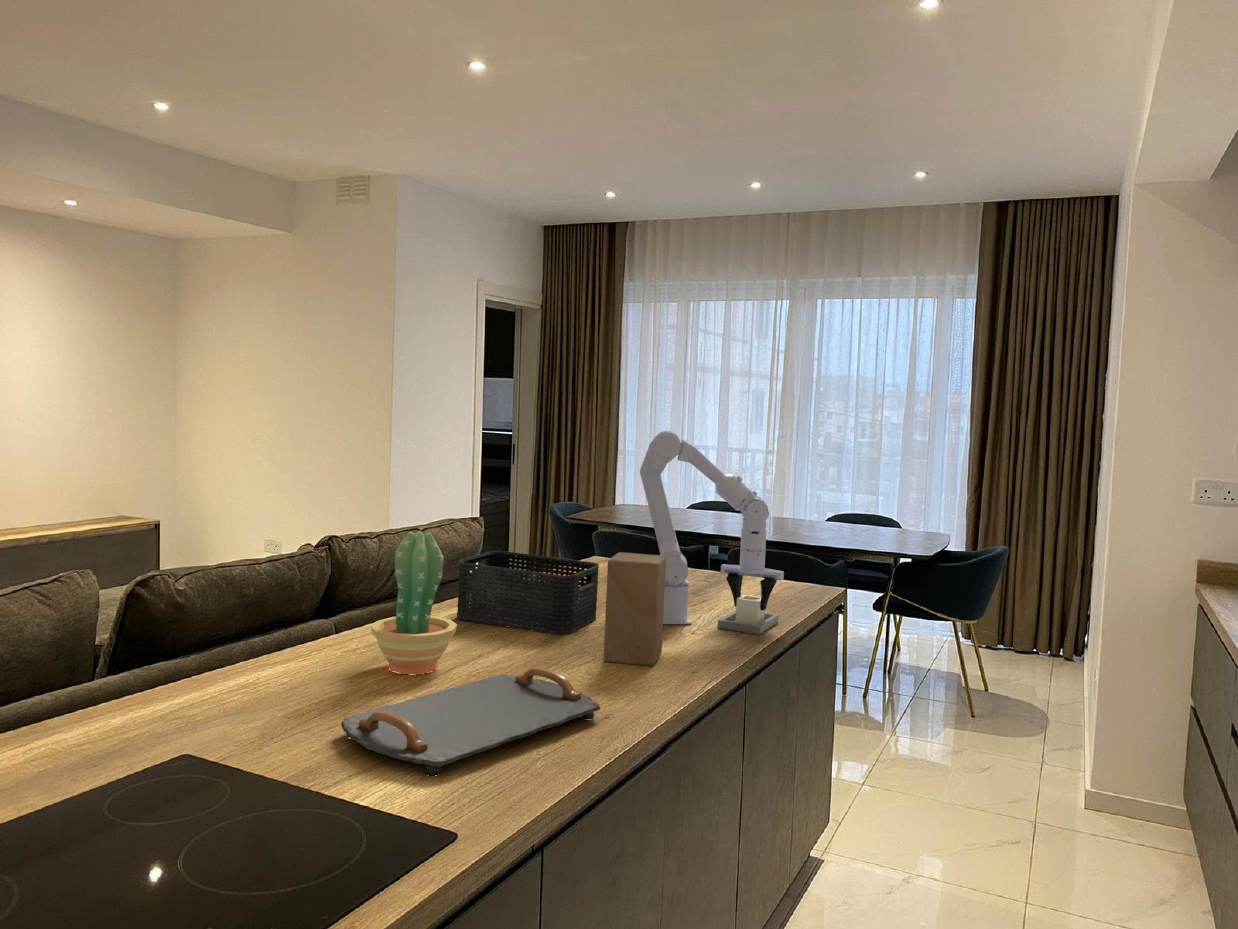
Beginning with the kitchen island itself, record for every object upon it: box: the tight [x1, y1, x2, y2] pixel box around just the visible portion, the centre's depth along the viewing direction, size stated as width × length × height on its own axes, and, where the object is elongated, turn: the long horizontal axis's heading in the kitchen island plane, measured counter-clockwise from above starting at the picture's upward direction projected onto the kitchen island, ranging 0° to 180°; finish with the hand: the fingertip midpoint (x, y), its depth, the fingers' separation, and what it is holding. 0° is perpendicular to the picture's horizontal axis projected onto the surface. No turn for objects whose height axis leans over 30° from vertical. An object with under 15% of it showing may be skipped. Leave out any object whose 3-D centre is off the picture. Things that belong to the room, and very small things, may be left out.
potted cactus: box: [370, 530, 458, 674], centre depth 165 cm, size 15×15×25 cm
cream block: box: [735, 594, 766, 625], centre depth 210 cm, size 5×5×6 cm
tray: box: [717, 609, 779, 635], centre depth 210 cm, size 14×10×2 cm
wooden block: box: [603, 551, 666, 667], centre depth 179 cm, size 10×10×20 cm
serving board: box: [341, 667, 601, 777], centre depth 138 cm, size 39×23×6 cm, turn 140°
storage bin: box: [456, 550, 600, 635], centre depth 207 cm, size 29×19×13 cm
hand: (750, 607), depth 210 cm, fingers open, 6 cm apart
